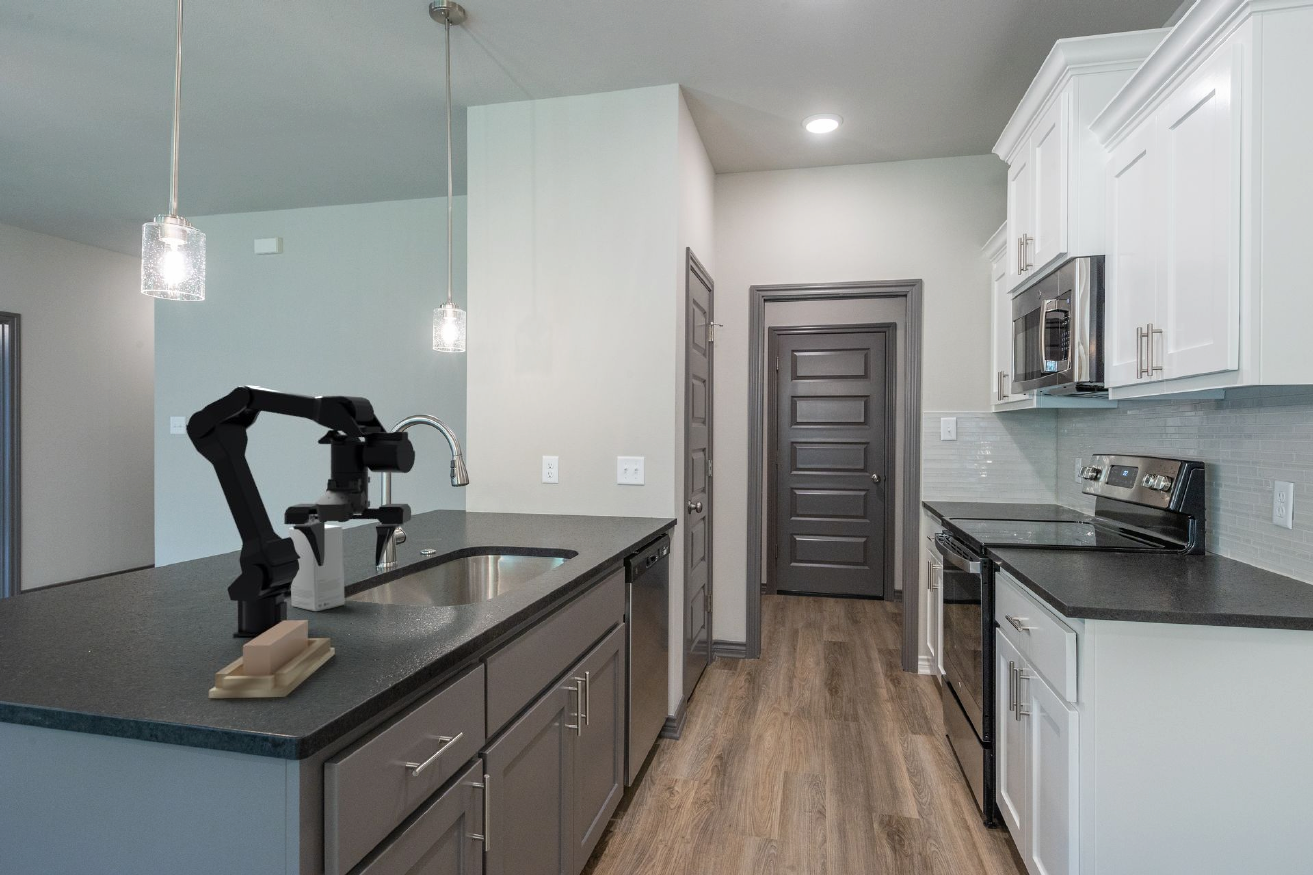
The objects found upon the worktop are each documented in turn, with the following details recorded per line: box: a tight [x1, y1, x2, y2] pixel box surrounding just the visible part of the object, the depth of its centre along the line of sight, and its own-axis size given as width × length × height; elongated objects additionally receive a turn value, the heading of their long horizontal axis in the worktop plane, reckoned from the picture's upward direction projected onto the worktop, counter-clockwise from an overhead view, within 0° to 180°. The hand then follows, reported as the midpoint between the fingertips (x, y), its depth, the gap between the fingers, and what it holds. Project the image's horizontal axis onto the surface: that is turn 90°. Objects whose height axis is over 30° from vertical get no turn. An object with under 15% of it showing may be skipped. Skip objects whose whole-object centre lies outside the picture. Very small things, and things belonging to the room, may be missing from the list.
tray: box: [208, 637, 336, 699], centre depth 100 cm, size 10×17×3 cm, turn 4°
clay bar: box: [242, 619, 309, 676], centre depth 100 cm, size 4×12×5 cm, turn 4°
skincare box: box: [288, 524, 346, 612], centre depth 137 cm, size 8×7×16 cm
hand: (349, 565), depth 117 cm, fingers open, 9 cm apart
